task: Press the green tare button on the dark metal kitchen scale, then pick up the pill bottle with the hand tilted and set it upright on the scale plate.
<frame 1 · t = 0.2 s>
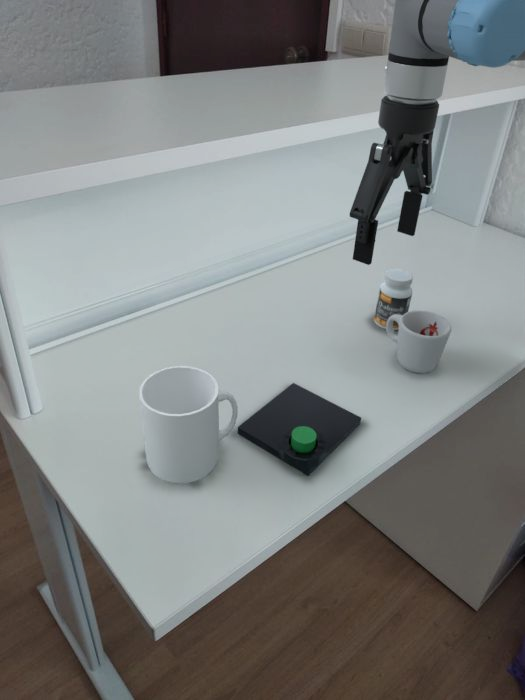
hand: (384, 246, 88), 19 cm above the table, tool pointing down, fingers open, 13 cm apart
mug: (191, 455, 77), on the table
pill bottle: (389, 324, 105), on the table
cup: (408, 360, 96), on the table
scale: (299, 429, 81), on the table
tare button: (303, 439, 75), point 4 cm above the table, slide at 0.1 cm
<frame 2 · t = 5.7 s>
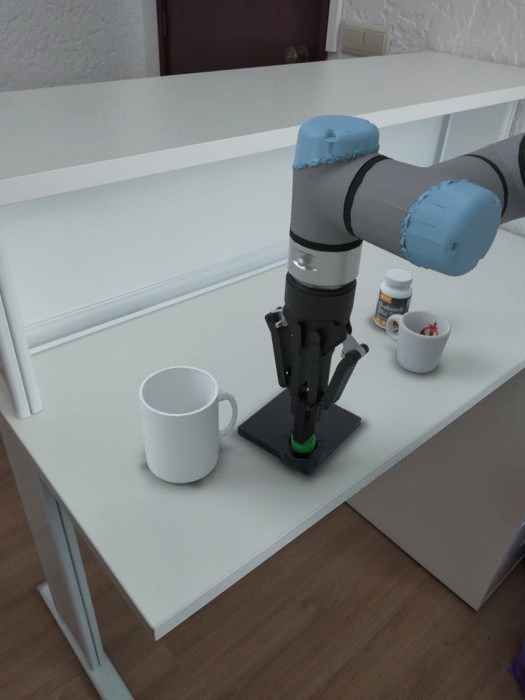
hand: (303, 436, 75), 4 cm above the table, tool pointing down, fingers closed
tare button: (303, 443, 75), point 3 cm above the table, slide at -0.6 cm, touching gripper
everything else where it was.
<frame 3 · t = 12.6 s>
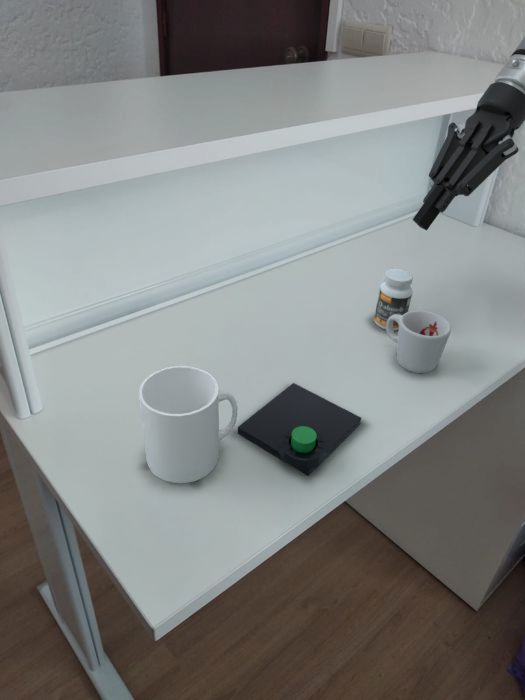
hand: (419, 225, 93), 20 cm above the table, tool tilted 40°, fingers closed
tare button: (303, 439, 75), point 3 cm above the table, slide at 0.1 cm
everything else where it was.
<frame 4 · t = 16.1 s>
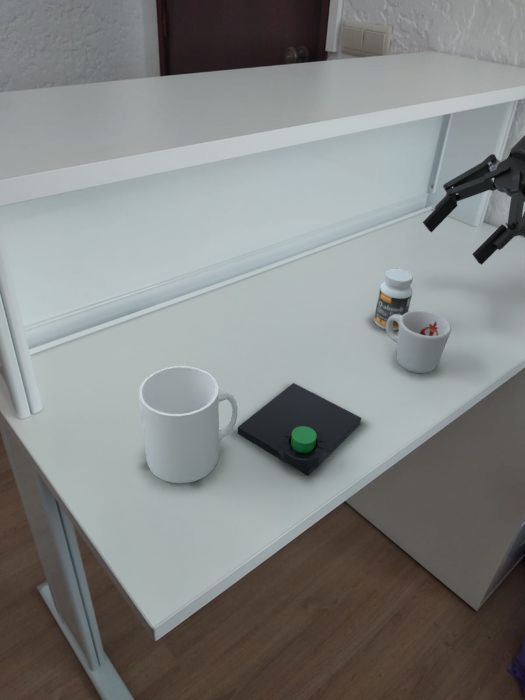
hand: (450, 242, 100), 14 cm above the table, tool tilted 45°, fingers open, 13 cm apart
nothing on the table moved.
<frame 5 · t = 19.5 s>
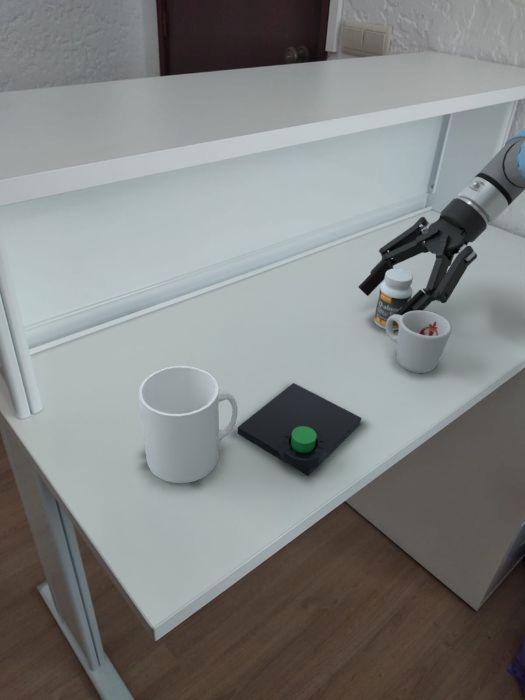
hand: (379, 306, 102), 4 cm above the table, tool tilted 45°, fingers open, 10 cm apart
nothing on the table moved.
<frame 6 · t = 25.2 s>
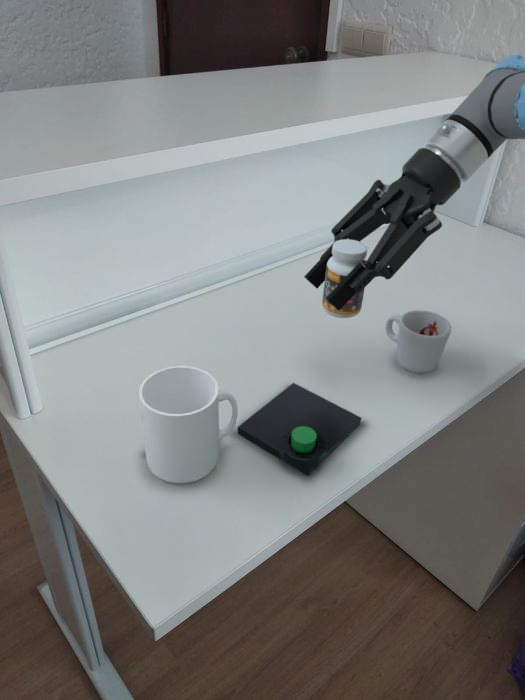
hand: (321, 293, 81), 16 cm above the table, tool tilted 45°, fingers closed on pill bottle, 6 cm apart
pill bottle: (341, 310, 84), point 13 cm above the table, touching gripper
everything else where it was.
when the fingers open (5 cm above the table, at t = 30.2 s): pill bottle stays where it is, resting on scale.
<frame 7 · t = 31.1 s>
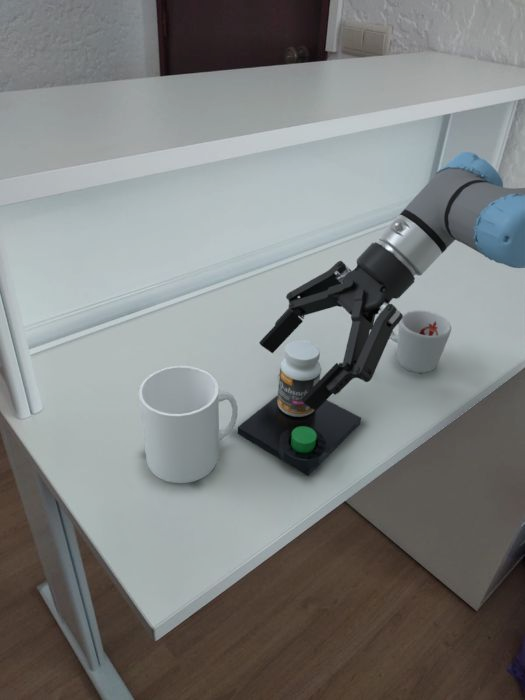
hand: (285, 375, 79), 8 cm above the table, tool tilted 45°, fingers open, 13 cm apart
pill bottle: (296, 406, 84), point 1 cm above the table, touching scale
everything else where it was.
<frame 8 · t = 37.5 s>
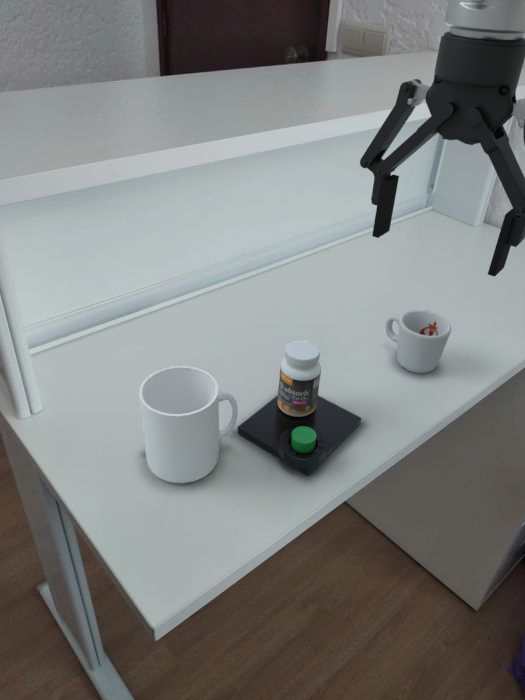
hand: (435, 251, 64), 29 cm above the table, tool pointing down, fingers open, 13 cm apart
nothing on the table moved.
at the end: pill bottle inside the target area on the scale (0.4 cm from its centre), point 1.1 cm above the scale's base; pill bottle tilted 0°; tare button pushed in 0.9 cm at the most during the clip, back to where it started at the end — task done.
